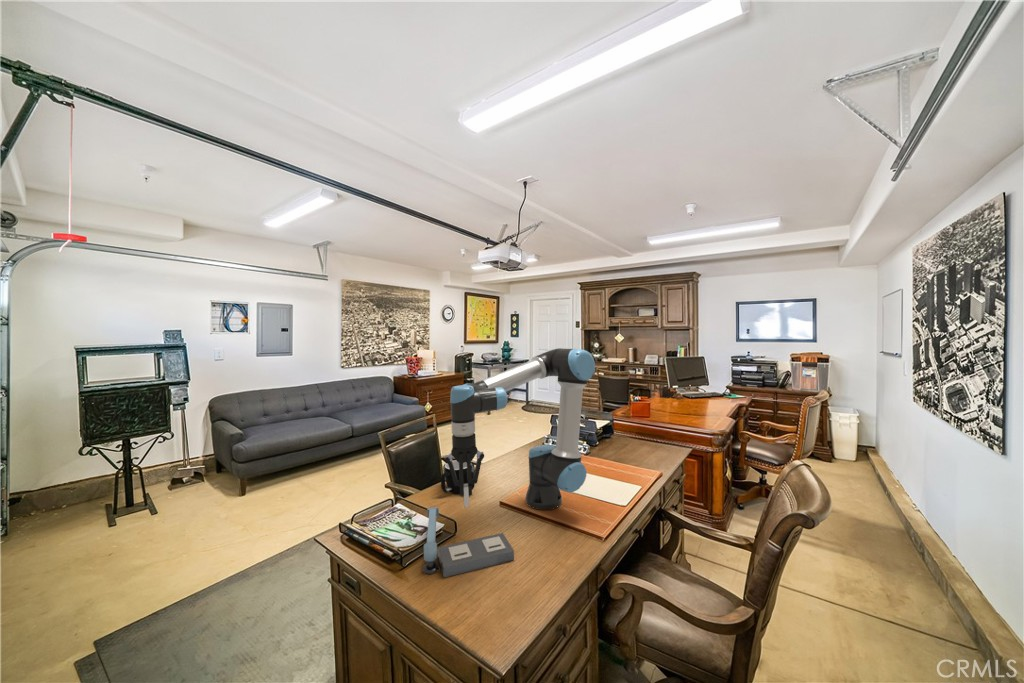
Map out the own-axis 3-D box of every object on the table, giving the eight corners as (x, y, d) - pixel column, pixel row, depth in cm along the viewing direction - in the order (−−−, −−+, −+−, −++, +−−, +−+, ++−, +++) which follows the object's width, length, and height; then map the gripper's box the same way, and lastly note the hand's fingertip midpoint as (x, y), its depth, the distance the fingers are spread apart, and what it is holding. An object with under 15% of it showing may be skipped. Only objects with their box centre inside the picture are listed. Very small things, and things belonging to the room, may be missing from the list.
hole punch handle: (437, 560, 109) (436, 548, 109) (423, 562, 108) (423, 549, 108) (438, 515, 136) (438, 505, 136) (427, 517, 135) (427, 507, 135)
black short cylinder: (438, 562, 114) (437, 551, 114) (440, 572, 109) (440, 560, 109) (421, 566, 112) (421, 555, 112) (423, 576, 108) (423, 564, 108)
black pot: (474, 498, 158) (473, 470, 157) (437, 498, 158) (436, 471, 157) (478, 482, 174) (477, 457, 174) (444, 483, 174) (444, 458, 174)
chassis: (503, 541, 125) (502, 531, 124) (514, 560, 114) (513, 549, 114) (438, 556, 117) (437, 546, 117) (443, 577, 107) (443, 566, 107)
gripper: (443, 438, 113) (446, 513, 114) (485, 435, 115) (487, 508, 116) (443, 432, 120) (446, 502, 121) (482, 428, 123) (485, 497, 123)
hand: (466, 505), depth 119 cm, fingers closed
